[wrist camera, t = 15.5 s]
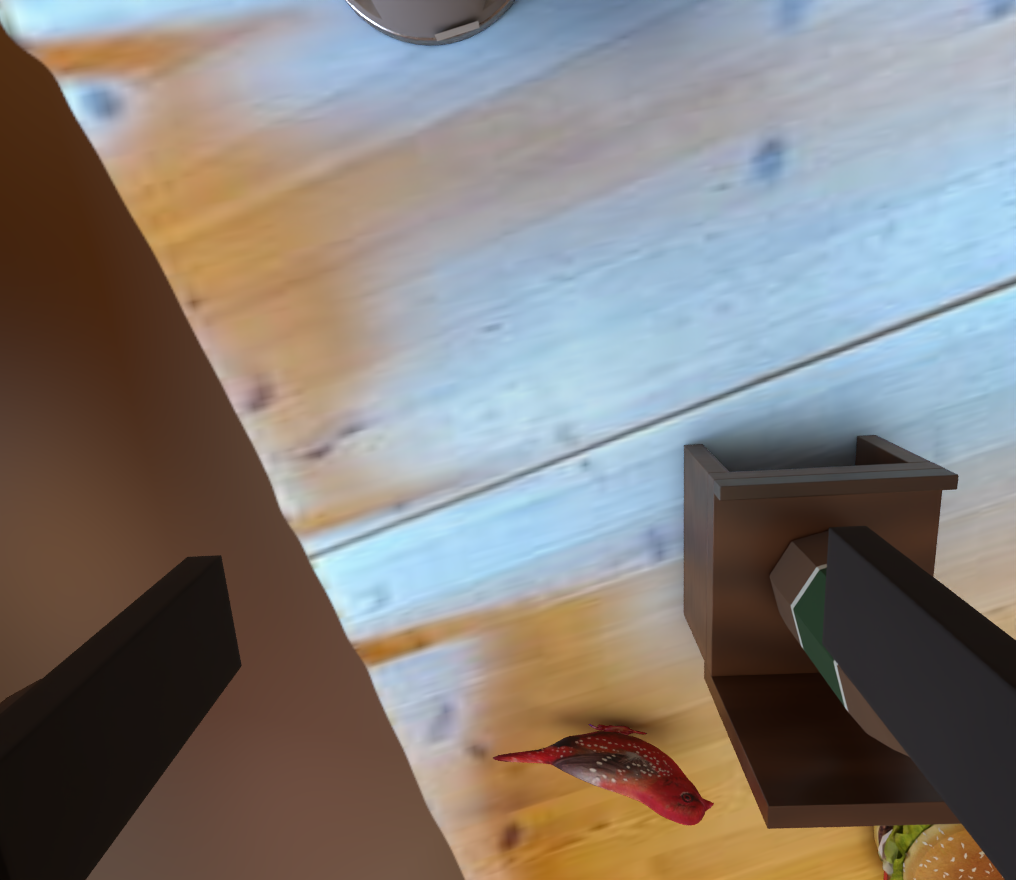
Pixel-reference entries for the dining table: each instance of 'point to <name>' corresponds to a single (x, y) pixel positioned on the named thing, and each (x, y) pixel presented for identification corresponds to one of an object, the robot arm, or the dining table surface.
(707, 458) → the shelf stand
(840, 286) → the dining table surface
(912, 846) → the food
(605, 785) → the decorative bird figurine
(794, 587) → the beer bottle
